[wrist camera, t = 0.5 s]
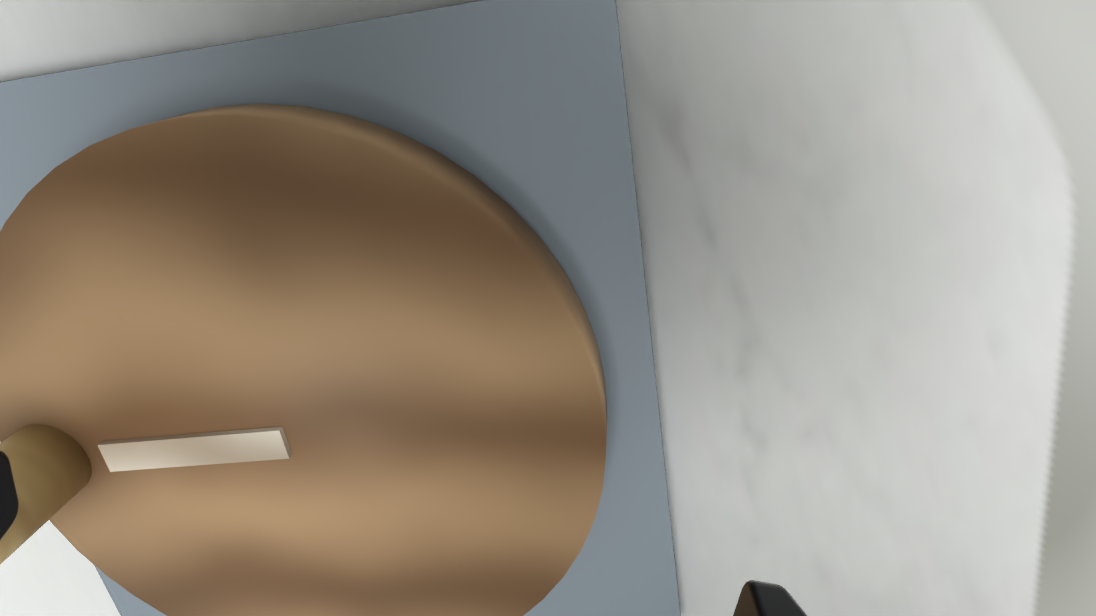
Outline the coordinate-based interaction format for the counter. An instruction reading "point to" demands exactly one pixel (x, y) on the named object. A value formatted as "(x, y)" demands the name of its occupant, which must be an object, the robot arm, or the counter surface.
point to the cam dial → (295, 373)
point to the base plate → (480, 148)
